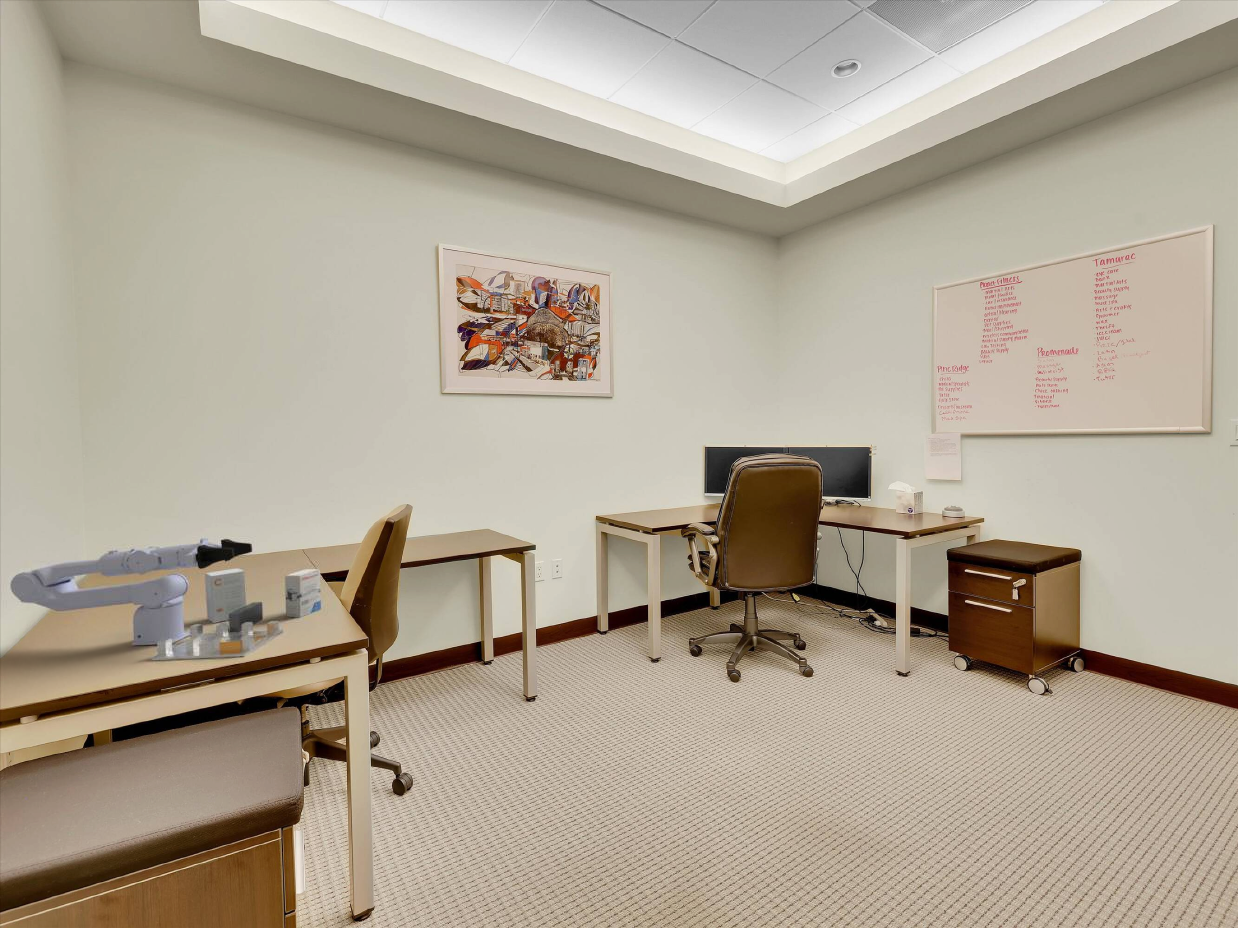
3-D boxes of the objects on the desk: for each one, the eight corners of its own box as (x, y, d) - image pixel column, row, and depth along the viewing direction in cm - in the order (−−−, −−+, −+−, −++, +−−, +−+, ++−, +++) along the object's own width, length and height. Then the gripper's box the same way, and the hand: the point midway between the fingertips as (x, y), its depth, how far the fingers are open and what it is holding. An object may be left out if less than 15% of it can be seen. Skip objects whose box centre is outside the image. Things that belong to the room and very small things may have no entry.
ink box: (307, 608, 172) (305, 568, 171) (322, 609, 171) (321, 568, 170) (285, 617, 163) (283, 575, 163) (301, 617, 162) (299, 575, 162)
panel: (229, 633, 150) (228, 613, 150) (253, 620, 161) (252, 602, 161) (239, 632, 150) (238, 613, 150) (262, 620, 161) (262, 602, 161)
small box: (240, 612, 169) (238, 567, 168) (247, 616, 165) (245, 570, 164) (206, 619, 163) (204, 572, 162) (213, 623, 159) (210, 575, 158)
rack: (151, 660, 131) (150, 644, 131) (201, 635, 148) (200, 621, 148) (244, 656, 132) (243, 640, 132) (283, 632, 149) (282, 618, 149)
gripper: (163, 544, 138) (222, 538, 139) (202, 536, 152) (256, 530, 153) (166, 574, 138) (226, 568, 139) (205, 563, 153) (259, 557, 153)
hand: (242, 550), depth 146 cm, fingers open, 7 cm apart
